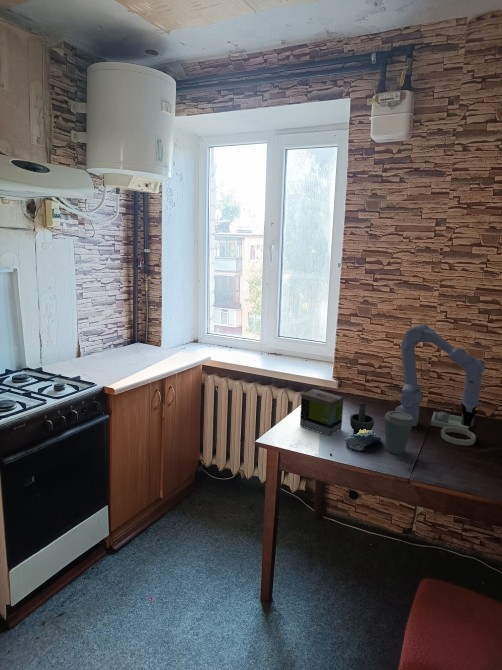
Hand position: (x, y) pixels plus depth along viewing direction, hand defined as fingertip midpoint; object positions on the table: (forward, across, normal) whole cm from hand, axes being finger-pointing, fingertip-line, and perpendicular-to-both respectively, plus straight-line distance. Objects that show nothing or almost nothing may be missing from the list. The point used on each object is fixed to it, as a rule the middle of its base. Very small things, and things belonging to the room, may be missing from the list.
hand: (467, 422), depth 177 cm
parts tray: (+8, +14, +6) cm, 17 cm away
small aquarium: (+8, -17, +55) cm, 58 cm away
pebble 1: (+7, +14, +9) cm, 18 cm away
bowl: (+8, 0, +2) cm, 9 cm away
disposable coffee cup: (+8, -22, +23) cm, 33 cm away
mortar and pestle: (+8, -13, +39) cm, 42 cm away
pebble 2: (+1, 0, 0) cm, 1 cm away
